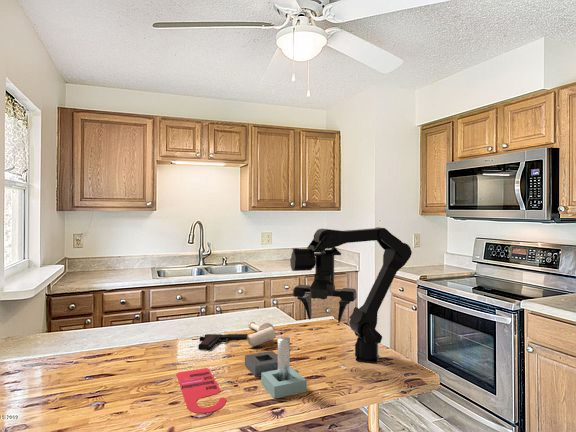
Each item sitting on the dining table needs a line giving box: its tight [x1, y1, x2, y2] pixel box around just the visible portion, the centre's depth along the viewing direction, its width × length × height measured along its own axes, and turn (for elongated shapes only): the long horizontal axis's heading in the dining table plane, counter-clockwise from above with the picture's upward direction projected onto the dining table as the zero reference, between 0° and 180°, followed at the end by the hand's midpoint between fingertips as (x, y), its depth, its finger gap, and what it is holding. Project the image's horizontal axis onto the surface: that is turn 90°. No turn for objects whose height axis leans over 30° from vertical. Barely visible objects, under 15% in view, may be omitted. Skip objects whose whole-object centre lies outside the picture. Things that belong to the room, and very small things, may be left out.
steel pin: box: [277, 336, 291, 382], centre depth 101 cm, size 3×3×13 cm
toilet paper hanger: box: [246, 321, 277, 348], centre depth 141 cm, size 21×11×7 cm, turn 24°
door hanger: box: [175, 367, 227, 414], centre depth 100 cm, size 9×1×25 cm
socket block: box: [244, 350, 278, 378], centre depth 114 cm, size 9×9×3 cm
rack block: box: [260, 366, 307, 399], centre depth 101 cm, size 9×9×3 cm
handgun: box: [197, 333, 248, 351], centre depth 135 cm, size 2×17×12 cm
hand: (324, 320), depth 118 cm, fingers open, 9 cm apart
